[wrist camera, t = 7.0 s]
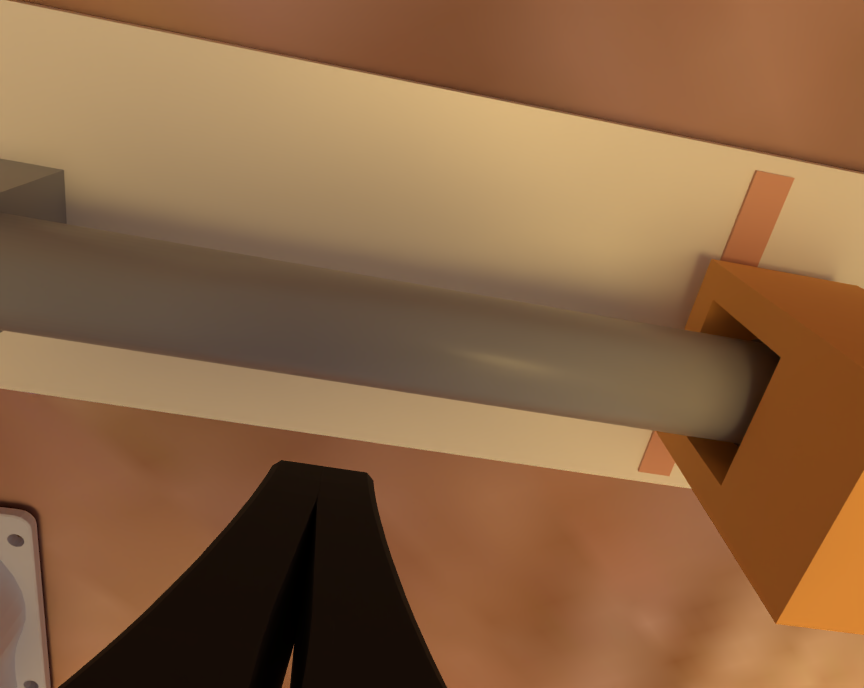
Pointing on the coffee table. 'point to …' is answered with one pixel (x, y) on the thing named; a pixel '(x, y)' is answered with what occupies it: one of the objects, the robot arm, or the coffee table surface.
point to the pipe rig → (380, 251)
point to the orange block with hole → (790, 445)
